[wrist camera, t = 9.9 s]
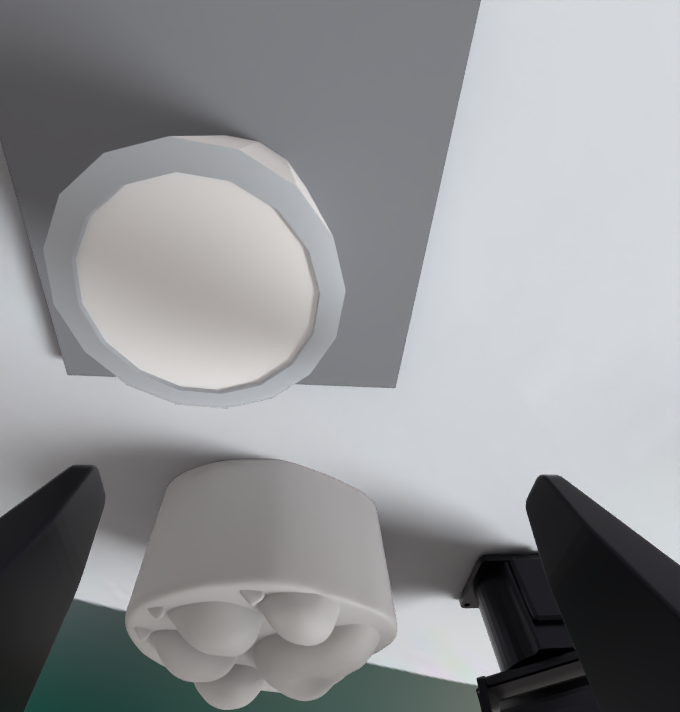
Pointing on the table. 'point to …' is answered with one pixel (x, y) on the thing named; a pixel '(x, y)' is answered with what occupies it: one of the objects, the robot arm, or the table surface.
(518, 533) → the table surface
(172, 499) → the lumpy-topped squat cylinder
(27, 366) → the table surface
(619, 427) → the table surface
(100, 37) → the charcoal mat
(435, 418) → the table surface
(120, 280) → the shot glass
